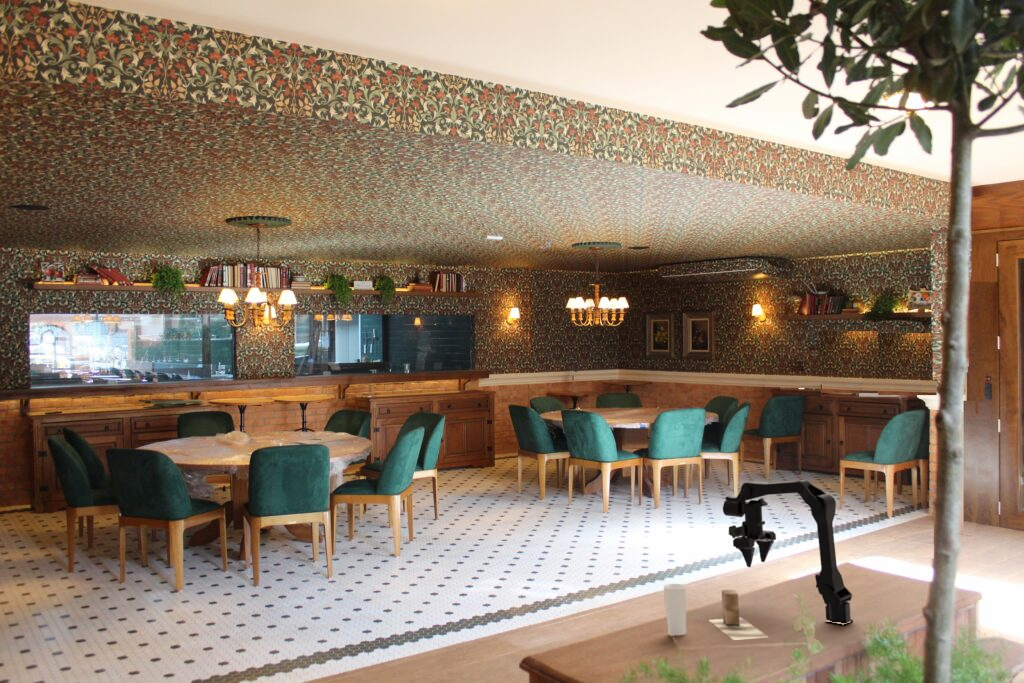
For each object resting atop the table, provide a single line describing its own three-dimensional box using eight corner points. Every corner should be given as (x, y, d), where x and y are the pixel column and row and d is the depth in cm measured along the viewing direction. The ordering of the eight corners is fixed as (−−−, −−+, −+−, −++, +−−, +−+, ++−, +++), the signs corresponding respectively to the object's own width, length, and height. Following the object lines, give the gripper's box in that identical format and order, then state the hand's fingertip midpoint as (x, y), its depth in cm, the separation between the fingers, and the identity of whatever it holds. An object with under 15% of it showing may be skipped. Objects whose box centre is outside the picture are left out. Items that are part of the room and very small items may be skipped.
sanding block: (735, 621, 272) (734, 589, 272) (739, 625, 267) (737, 593, 267) (723, 621, 272) (721, 590, 273) (726, 626, 267) (725, 594, 268)
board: (708, 622, 275) (708, 619, 275) (740, 619, 276) (740, 617, 276) (733, 642, 253) (733, 640, 253) (769, 639, 254) (769, 637, 254)
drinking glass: (675, 640, 258) (672, 590, 259) (661, 634, 264) (659, 585, 265) (693, 636, 261) (690, 586, 262) (679, 630, 267) (676, 582, 268)
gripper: (746, 512, 303) (749, 556, 302) (718, 520, 290) (720, 566, 289) (775, 515, 295) (777, 560, 294) (747, 523, 282) (749, 570, 281)
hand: (755, 564), depth 290 cm, fingers open, 9 cm apart
